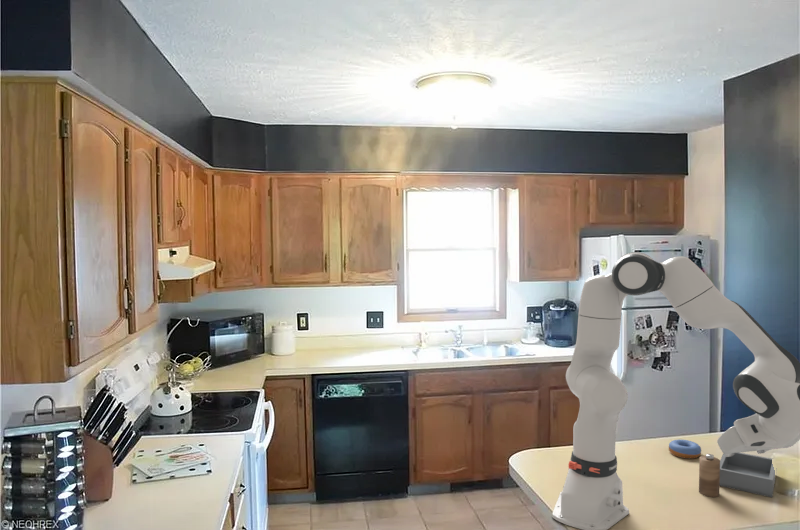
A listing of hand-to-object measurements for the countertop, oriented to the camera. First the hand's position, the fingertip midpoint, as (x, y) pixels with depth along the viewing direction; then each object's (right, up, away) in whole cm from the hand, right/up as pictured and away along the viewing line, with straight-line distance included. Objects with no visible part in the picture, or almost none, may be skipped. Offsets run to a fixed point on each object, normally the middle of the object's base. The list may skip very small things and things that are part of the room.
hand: (743, 452), depth 153 cm
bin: (+14, -15, +21) cm, 30 cm away
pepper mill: (-2, -16, +13) cm, 21 cm away
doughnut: (+5, -15, +42) cm, 45 cm away
